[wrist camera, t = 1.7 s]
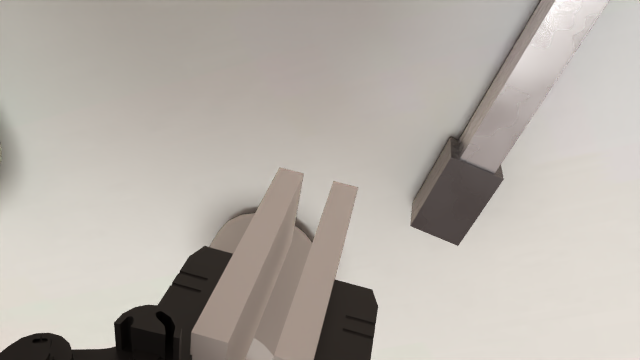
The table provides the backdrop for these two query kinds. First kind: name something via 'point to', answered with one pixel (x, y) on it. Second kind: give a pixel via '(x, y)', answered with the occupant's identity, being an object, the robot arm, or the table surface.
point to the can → (284, 287)
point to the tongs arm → (501, 119)
